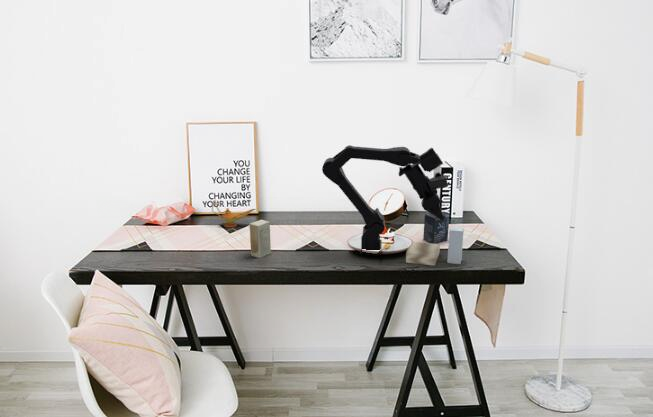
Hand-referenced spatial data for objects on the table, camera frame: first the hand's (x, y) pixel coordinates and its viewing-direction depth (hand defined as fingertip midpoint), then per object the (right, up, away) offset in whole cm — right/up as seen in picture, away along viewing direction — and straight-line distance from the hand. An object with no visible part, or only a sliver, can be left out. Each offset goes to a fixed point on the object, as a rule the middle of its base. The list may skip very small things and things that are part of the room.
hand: (441, 215), depth 218 cm
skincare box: (-64, -14, +3) cm, 66 cm away
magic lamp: (-78, -5, +35) cm, 86 cm away
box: (+1, -10, +19) cm, 21 cm away
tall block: (+4, -16, -2) cm, 17 cm away
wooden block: (-6, -15, +1) cm, 17 cm away
